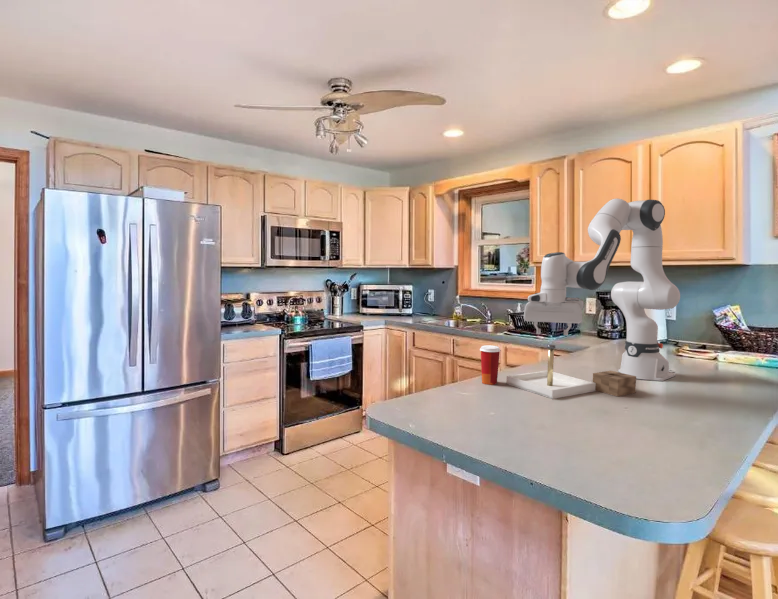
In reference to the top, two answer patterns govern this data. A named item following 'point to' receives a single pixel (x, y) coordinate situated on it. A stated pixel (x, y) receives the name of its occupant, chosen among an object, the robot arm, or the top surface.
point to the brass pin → (550, 364)
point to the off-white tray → (560, 388)
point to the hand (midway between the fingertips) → (552, 334)
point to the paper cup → (489, 364)
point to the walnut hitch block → (614, 383)
